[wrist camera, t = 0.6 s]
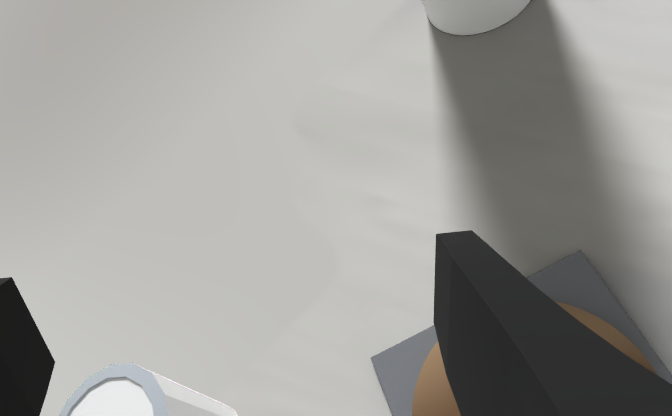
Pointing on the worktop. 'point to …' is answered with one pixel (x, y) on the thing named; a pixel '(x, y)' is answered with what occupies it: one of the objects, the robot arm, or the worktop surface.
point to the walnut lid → (434, 389)
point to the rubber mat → (555, 281)
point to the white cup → (139, 396)
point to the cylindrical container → (471, 14)
